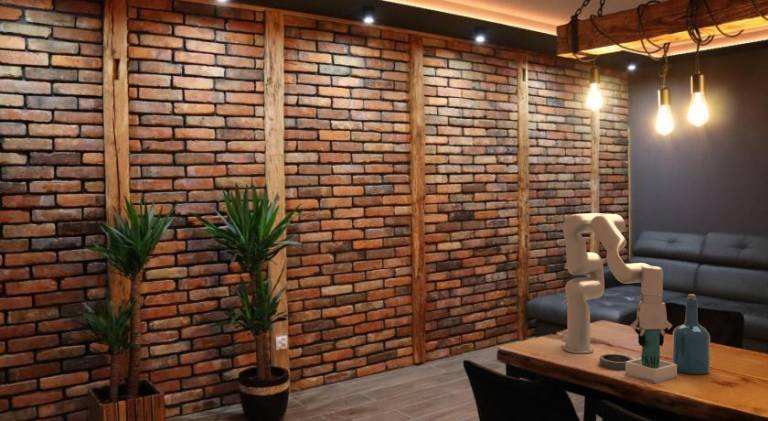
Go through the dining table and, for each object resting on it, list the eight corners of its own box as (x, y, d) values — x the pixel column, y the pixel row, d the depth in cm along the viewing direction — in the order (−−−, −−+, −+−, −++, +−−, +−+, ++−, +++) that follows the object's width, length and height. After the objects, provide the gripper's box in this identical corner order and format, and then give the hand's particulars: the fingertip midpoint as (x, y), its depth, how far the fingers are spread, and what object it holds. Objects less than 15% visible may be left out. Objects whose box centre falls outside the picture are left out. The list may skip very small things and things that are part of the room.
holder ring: (593, 364, 262) (593, 356, 262) (613, 359, 269) (613, 352, 268) (618, 372, 252) (618, 364, 251) (639, 366, 258) (639, 359, 258)
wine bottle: (707, 377, 244) (709, 299, 242) (669, 372, 251) (670, 295, 249) (711, 368, 255) (712, 293, 254) (674, 363, 262) (676, 290, 261)
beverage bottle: (647, 366, 251) (648, 315, 250) (663, 370, 246) (664, 318, 244) (637, 369, 247) (638, 317, 246) (653, 373, 242) (654, 320, 241)
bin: (625, 374, 249) (625, 361, 248) (647, 368, 255) (647, 356, 255) (655, 383, 238) (655, 370, 237) (676, 377, 244) (677, 364, 244)
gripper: (633, 301, 241) (632, 348, 242) (679, 300, 241) (678, 347, 242) (625, 297, 248) (624, 343, 250) (669, 296, 249) (668, 342, 250)
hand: (650, 344), depth 246 cm, fingers closed on beverage bottle, 6 cm apart
